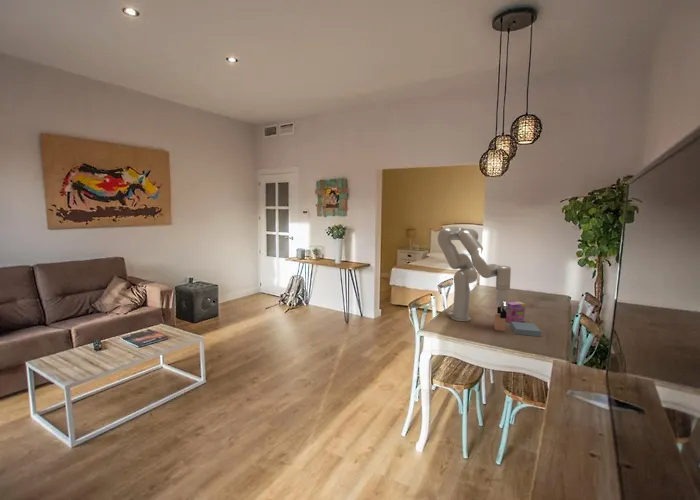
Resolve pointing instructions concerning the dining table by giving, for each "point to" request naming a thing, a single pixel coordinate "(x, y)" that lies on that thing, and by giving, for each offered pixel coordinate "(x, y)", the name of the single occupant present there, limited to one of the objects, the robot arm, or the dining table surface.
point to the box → (515, 312)
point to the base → (525, 329)
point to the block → (499, 323)
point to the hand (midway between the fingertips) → (501, 315)
